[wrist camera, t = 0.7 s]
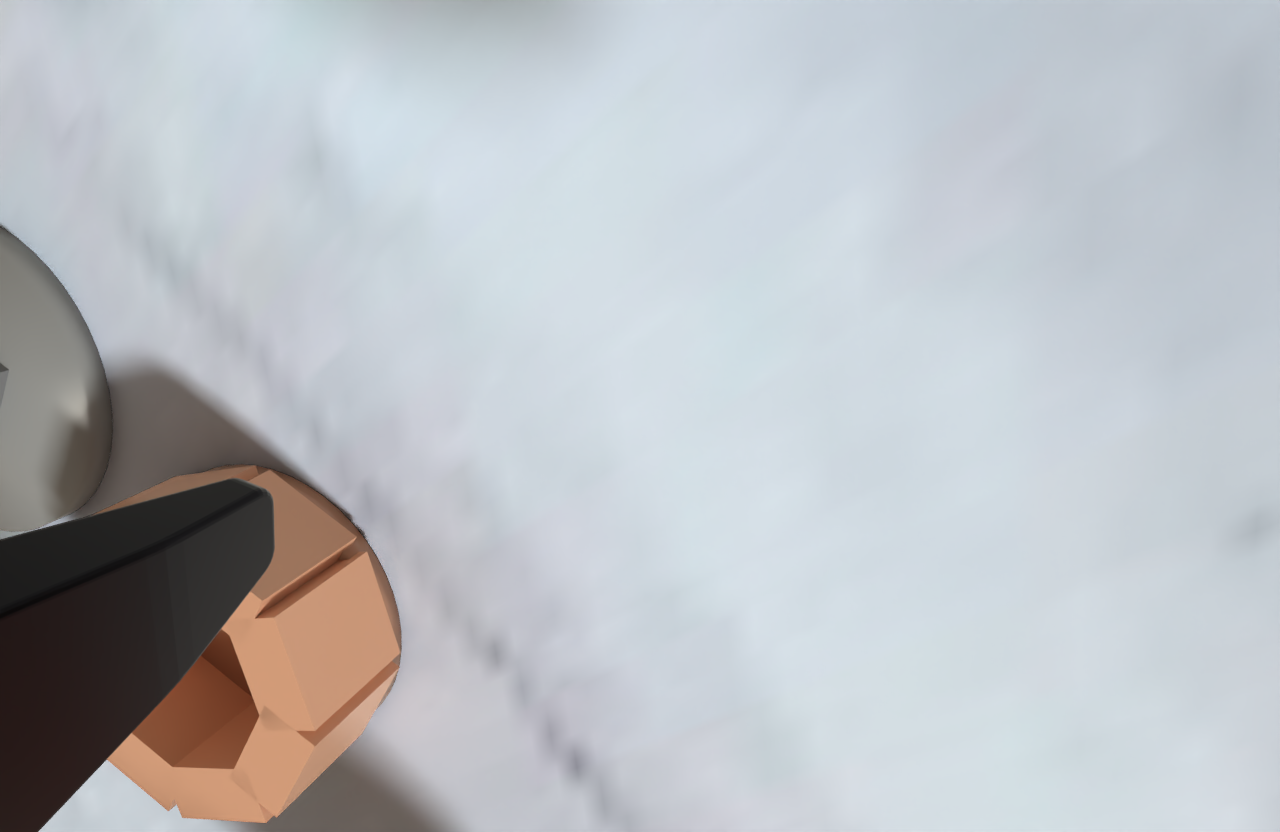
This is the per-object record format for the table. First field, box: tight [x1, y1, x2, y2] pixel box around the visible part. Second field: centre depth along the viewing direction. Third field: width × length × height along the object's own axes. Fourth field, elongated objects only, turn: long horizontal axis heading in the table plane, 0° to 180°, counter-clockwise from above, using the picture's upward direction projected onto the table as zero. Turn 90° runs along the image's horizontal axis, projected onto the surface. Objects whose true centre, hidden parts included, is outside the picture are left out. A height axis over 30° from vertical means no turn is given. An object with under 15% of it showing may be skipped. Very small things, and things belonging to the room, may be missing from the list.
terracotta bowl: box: [93, 464, 402, 823], centre depth 29 cm, size 10×10×4 cm
